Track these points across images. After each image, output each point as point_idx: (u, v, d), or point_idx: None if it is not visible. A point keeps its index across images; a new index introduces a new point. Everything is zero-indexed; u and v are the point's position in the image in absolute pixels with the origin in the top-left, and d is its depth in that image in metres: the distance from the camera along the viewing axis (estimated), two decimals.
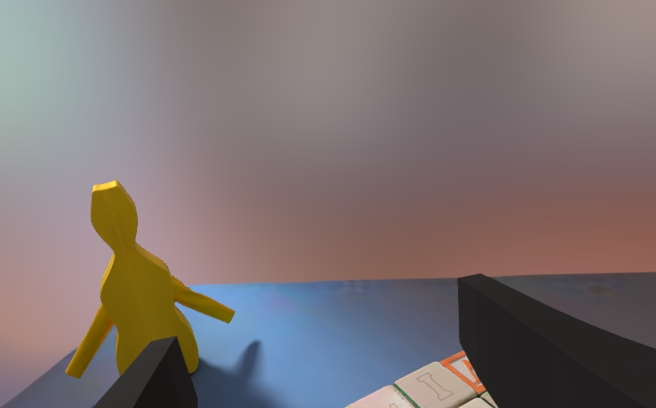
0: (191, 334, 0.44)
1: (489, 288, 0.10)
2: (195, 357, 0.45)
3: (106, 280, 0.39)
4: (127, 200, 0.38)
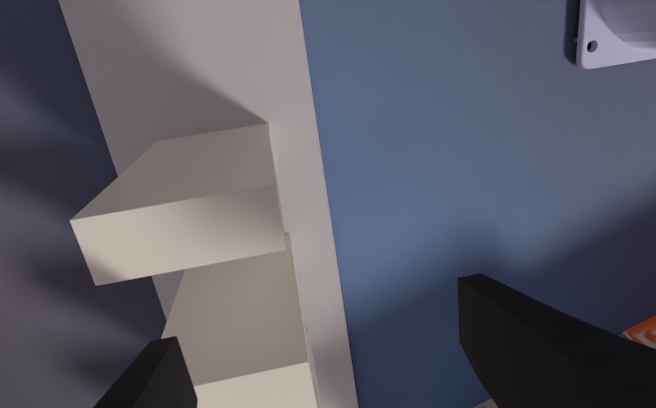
0: None
1: (489, 288, 0.10)
2: None
3: None
4: None
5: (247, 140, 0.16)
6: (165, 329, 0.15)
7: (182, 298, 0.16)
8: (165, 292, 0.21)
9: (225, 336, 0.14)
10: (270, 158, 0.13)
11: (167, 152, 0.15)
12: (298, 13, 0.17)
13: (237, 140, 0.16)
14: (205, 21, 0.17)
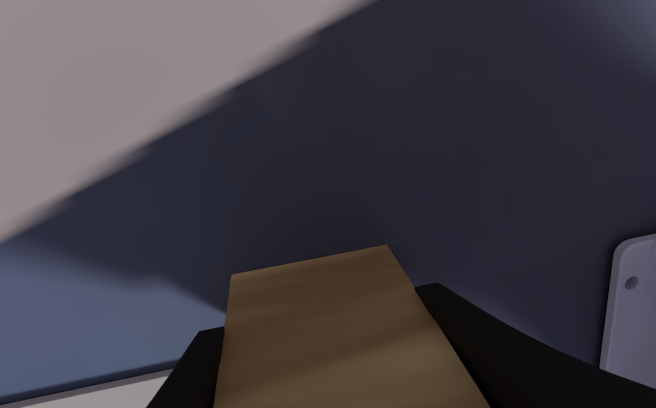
0: None
1: (441, 298, 0.09)
2: None
3: None
4: None
5: None
6: None
7: None
8: None
9: None
10: None
11: None
12: None
13: None
14: None
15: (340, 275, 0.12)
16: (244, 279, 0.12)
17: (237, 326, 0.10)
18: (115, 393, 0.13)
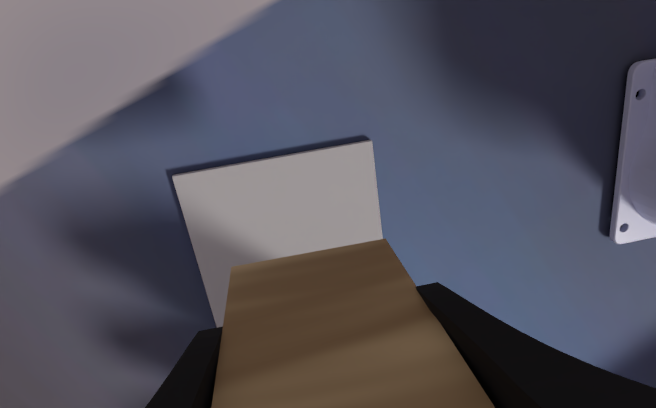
0: None
1: (441, 298, 0.09)
2: None
3: None
4: None
5: None
6: None
7: None
8: None
9: None
10: None
11: None
12: (378, 219, 0.20)
13: None
14: (302, 230, 0.20)
15: (339, 267, 0.12)
16: (244, 271, 0.12)
17: (237, 315, 0.10)
18: (282, 162, 0.19)
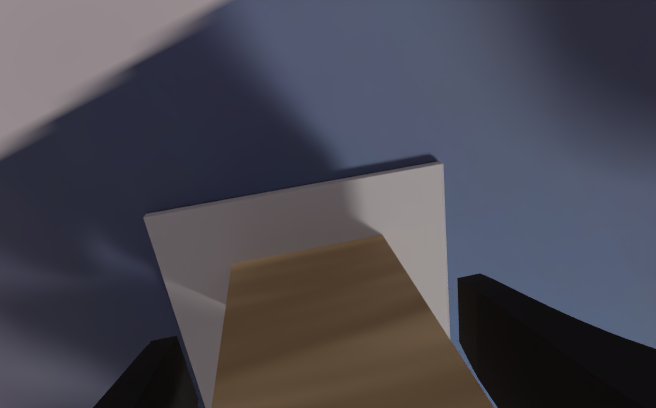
0: None
1: (489, 288, 0.10)
2: None
3: None
4: None
5: None
6: None
7: None
8: None
9: None
10: None
11: None
12: (445, 274, 0.14)
13: None
14: None
15: (337, 263, 0.12)
16: (244, 268, 0.13)
17: (237, 311, 0.11)
18: (310, 194, 0.13)
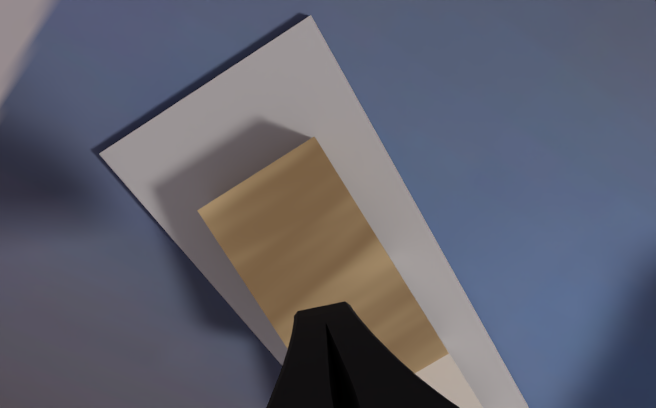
0: None
1: (338, 319, 0.09)
2: None
3: None
4: None
5: None
6: None
7: None
8: None
9: None
10: (478, 401, 0.17)
11: None
12: (362, 113, 0.16)
13: None
14: None
15: (292, 193, 0.14)
16: (214, 215, 0.15)
17: (246, 268, 0.15)
18: (214, 86, 0.15)
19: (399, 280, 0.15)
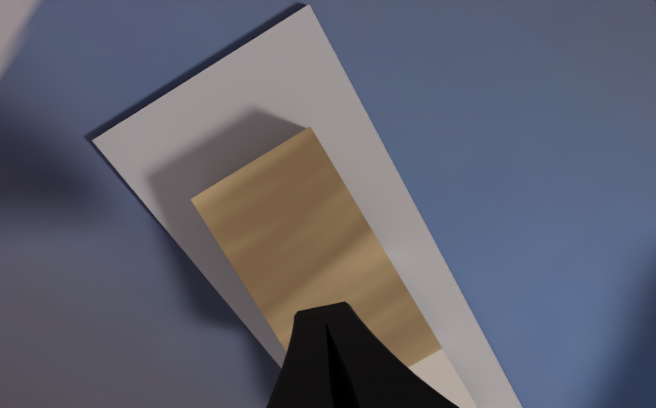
0: None
1: (338, 320, 0.09)
2: None
3: None
4: None
5: None
6: None
7: None
8: None
9: None
10: (471, 398, 0.17)
11: None
12: (360, 105, 0.16)
13: None
14: None
15: (286, 183, 0.14)
16: (207, 204, 0.14)
17: (239, 259, 0.15)
18: (210, 74, 0.15)
19: (393, 273, 0.15)
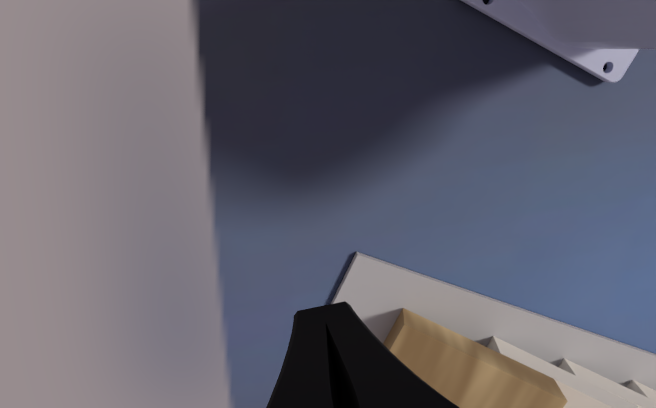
0: None
1: (338, 320, 0.09)
2: None
3: None
4: None
5: None
6: None
7: None
8: None
9: None
10: (610, 406, 0.23)
11: None
12: (421, 277, 0.23)
13: None
14: (387, 332, 0.23)
15: (411, 360, 0.22)
16: None
17: None
18: None
19: (508, 375, 0.21)
